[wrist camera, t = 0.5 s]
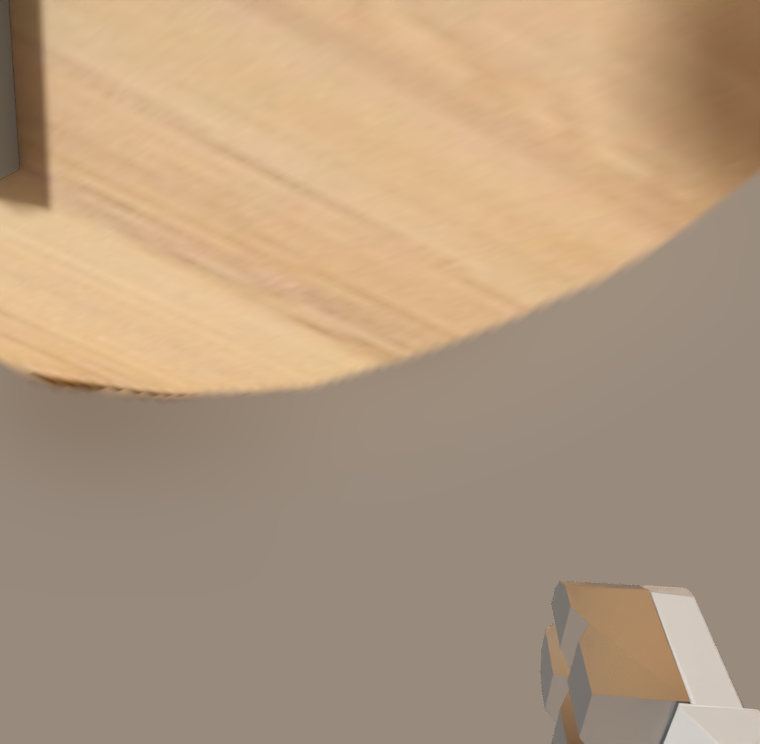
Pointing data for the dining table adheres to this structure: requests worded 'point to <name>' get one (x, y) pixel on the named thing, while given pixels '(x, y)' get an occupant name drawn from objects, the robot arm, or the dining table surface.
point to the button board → (7, 98)
